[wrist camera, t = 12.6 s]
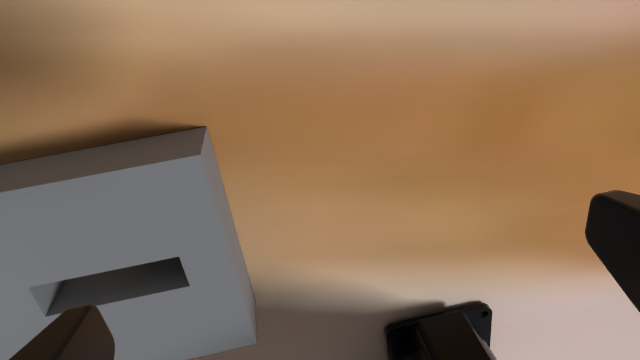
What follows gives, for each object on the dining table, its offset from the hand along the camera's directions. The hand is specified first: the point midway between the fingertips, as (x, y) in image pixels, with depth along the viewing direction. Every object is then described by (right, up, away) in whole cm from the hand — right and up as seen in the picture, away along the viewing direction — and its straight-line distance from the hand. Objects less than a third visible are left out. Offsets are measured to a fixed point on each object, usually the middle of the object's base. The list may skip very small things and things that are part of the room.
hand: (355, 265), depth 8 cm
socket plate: (-15, -3, +12) cm, 19 cm away
